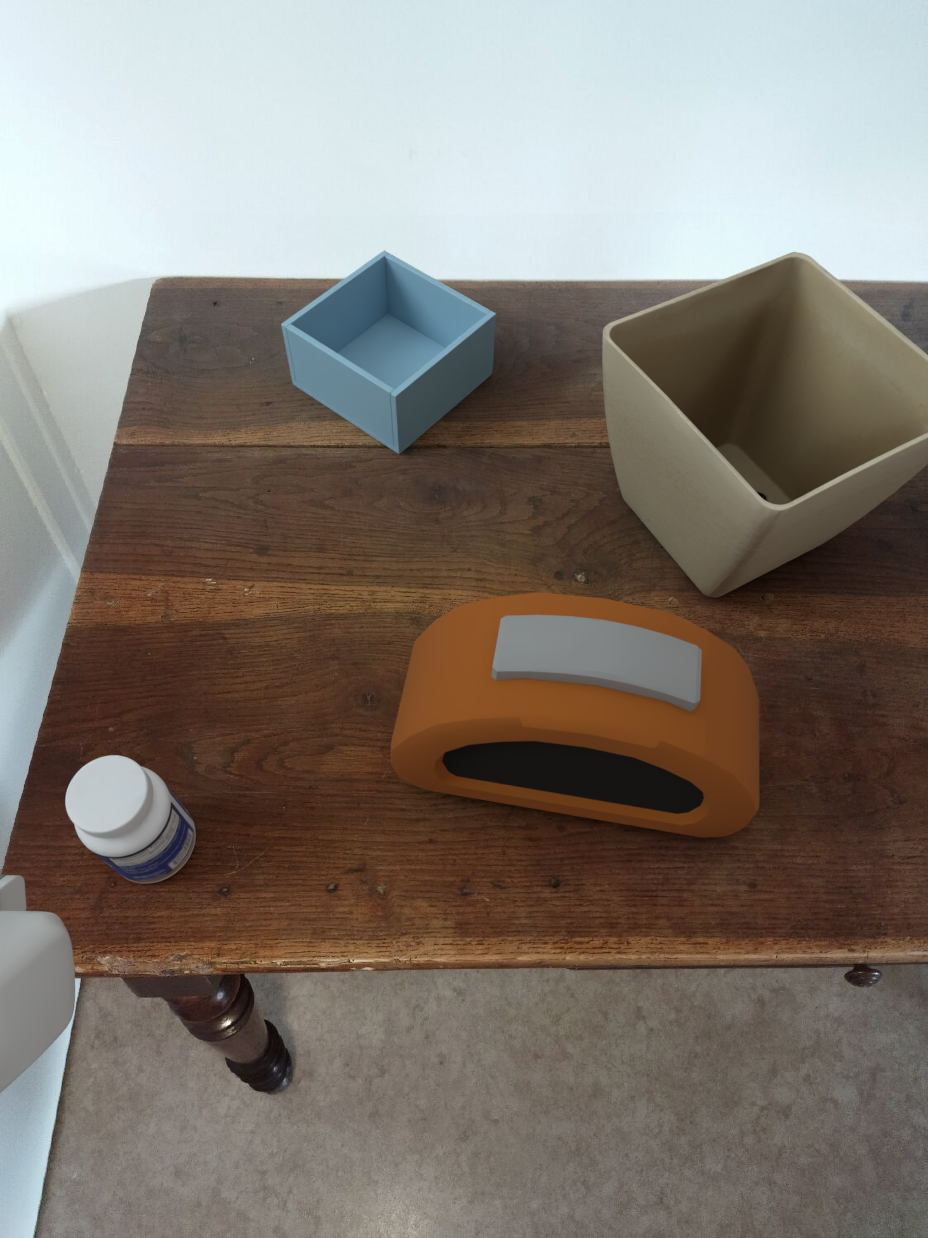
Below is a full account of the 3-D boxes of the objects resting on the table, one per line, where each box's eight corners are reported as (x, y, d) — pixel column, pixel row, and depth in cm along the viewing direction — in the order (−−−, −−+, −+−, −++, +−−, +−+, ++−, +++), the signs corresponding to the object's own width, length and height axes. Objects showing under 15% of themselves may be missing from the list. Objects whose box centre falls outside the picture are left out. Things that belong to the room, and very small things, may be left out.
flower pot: (738, 405, 82) (802, 244, 67) (885, 551, 73) (993, 404, 59) (567, 483, 76) (596, 327, 62) (703, 650, 68) (773, 515, 54)
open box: (292, 384, 82) (280, 323, 76) (388, 311, 87) (384, 249, 81) (399, 454, 78) (395, 396, 72) (492, 373, 83) (496, 313, 77)
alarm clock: (391, 793, 62) (376, 683, 47) (417, 680, 66) (410, 549, 52) (729, 851, 60) (819, 756, 46) (731, 731, 65) (813, 610, 50)
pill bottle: (103, 821, 60) (47, 766, 52) (186, 790, 61) (144, 731, 53) (121, 900, 57) (65, 856, 49) (207, 866, 59) (167, 817, 50)
